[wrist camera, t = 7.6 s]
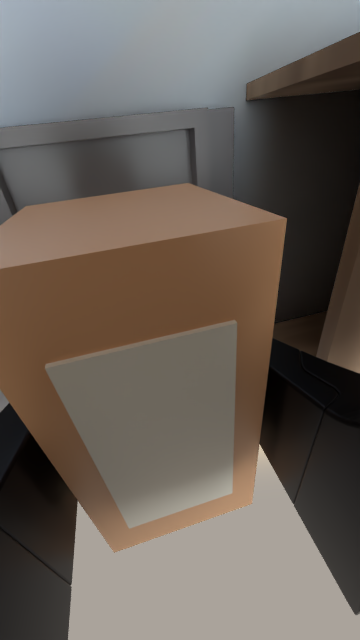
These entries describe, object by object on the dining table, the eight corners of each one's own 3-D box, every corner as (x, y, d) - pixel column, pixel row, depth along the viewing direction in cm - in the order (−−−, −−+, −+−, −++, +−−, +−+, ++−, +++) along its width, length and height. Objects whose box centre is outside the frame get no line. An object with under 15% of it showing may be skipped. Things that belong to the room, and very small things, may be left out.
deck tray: (30, 392, 18) (9, 467, 14) (-138, 114, 10) (-326, 85, 5) (225, 344, 20) (259, 395, 16) (225, 84, 12) (295, 47, 8)
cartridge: (25, 206, 7) (-81, 285, 3) (187, 182, 8) (291, 220, 4) (109, 416, 12) (114, 556, 8) (202, 390, 13) (253, 507, 9)
